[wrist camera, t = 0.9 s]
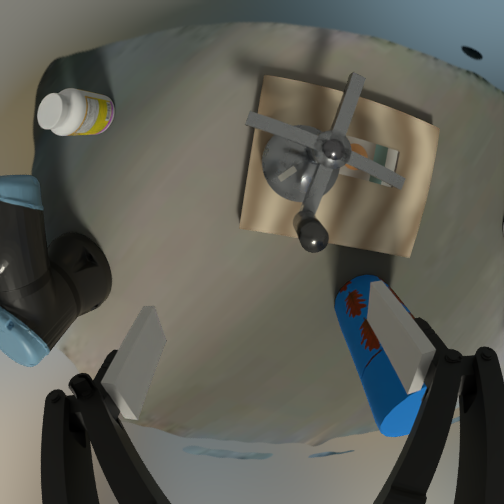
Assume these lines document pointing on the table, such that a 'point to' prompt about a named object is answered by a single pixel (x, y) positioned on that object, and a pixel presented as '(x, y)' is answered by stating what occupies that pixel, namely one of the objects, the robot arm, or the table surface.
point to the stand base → (347, 170)
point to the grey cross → (314, 163)
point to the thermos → (375, 360)
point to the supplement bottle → (76, 112)
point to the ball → (359, 150)
